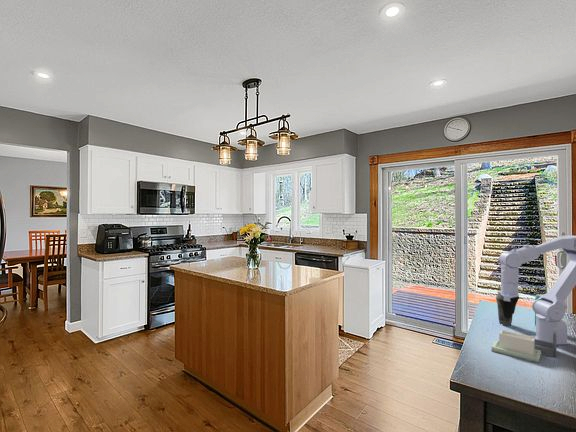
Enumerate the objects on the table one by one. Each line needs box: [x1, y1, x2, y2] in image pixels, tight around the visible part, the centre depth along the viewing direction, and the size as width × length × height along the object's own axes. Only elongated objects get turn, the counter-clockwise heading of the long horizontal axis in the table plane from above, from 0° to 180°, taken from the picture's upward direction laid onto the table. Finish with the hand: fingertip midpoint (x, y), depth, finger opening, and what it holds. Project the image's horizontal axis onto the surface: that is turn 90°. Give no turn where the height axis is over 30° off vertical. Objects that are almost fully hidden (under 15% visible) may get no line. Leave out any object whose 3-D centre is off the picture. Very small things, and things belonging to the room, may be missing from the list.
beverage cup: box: [495, 293, 514, 327], centre depth 142 cm, size 7×7×20 cm
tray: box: [491, 339, 542, 364], centre depth 112 cm, size 14×9×2 cm, turn 48°
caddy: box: [498, 329, 535, 356], centre depth 112 cm, size 10×5×6 cm, turn 48°
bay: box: [535, 328, 557, 358], centre depth 114 cm, size 7×8×8 cm
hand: (509, 315), depth 125 cm, fingers open, 7 cm apart
